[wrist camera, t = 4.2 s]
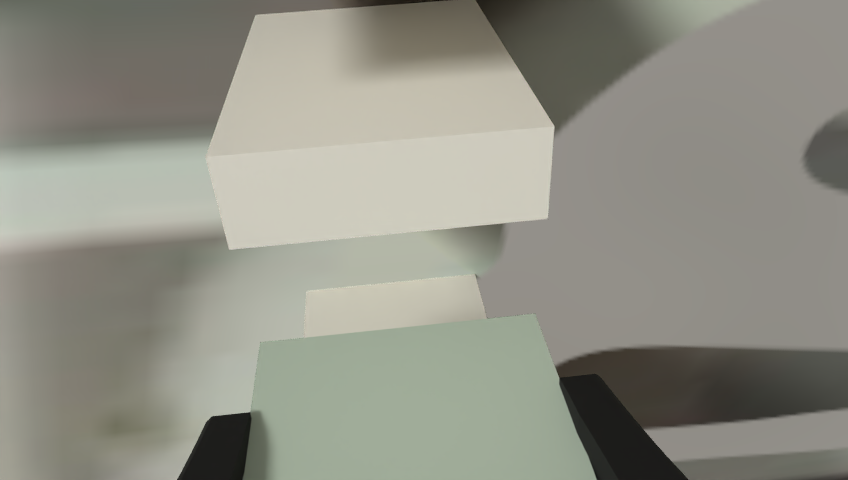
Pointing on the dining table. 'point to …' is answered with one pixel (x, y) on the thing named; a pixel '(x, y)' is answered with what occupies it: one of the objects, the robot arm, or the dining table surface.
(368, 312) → the domino
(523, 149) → the domino
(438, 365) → the domino
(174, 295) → the dining table surface
